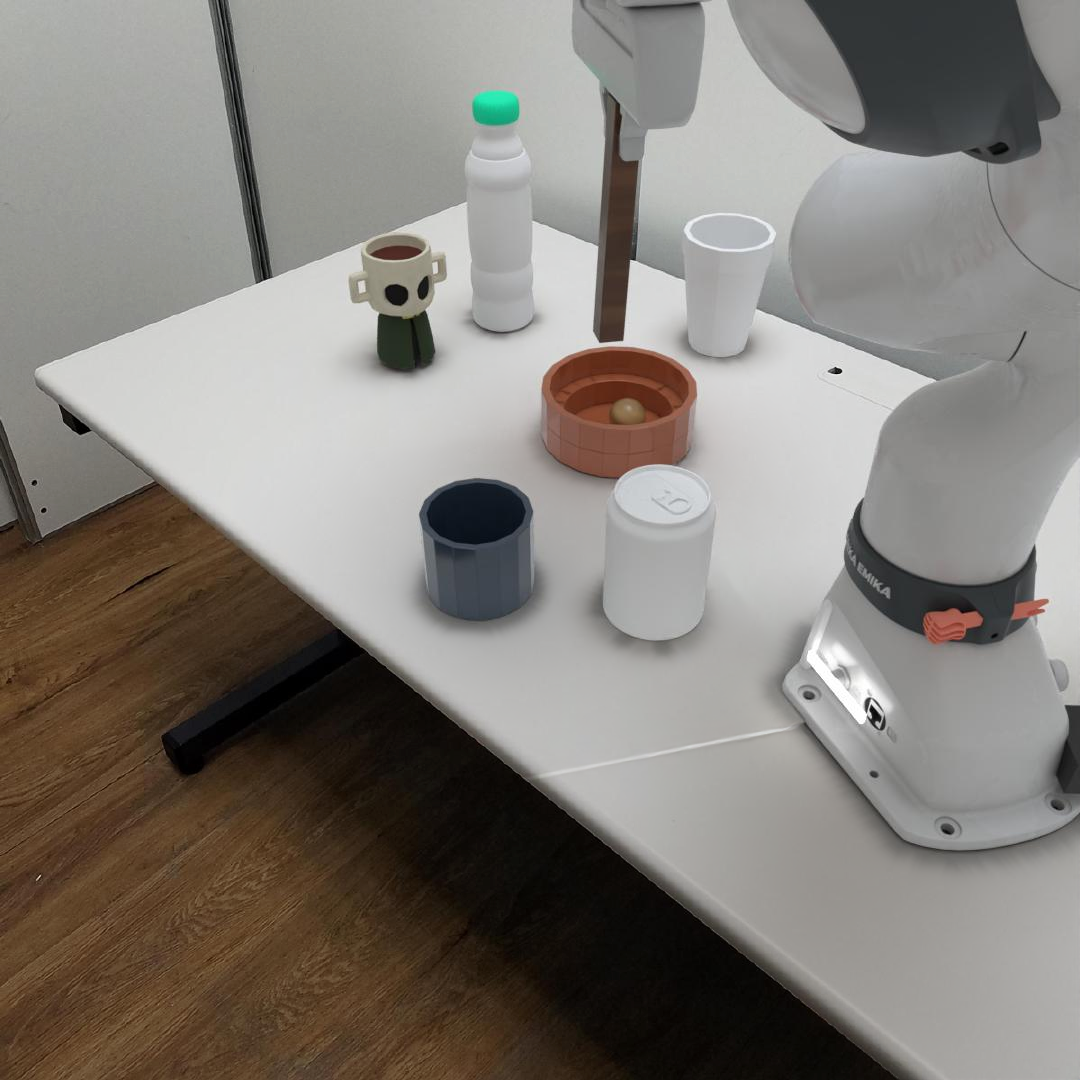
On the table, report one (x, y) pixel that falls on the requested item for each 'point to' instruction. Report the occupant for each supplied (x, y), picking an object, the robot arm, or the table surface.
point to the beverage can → (657, 551)
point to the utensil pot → (478, 548)
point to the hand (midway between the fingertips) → (623, 149)
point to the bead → (627, 412)
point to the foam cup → (724, 279)
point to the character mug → (400, 294)
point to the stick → (614, 234)
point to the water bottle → (499, 216)
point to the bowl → (591, 390)
